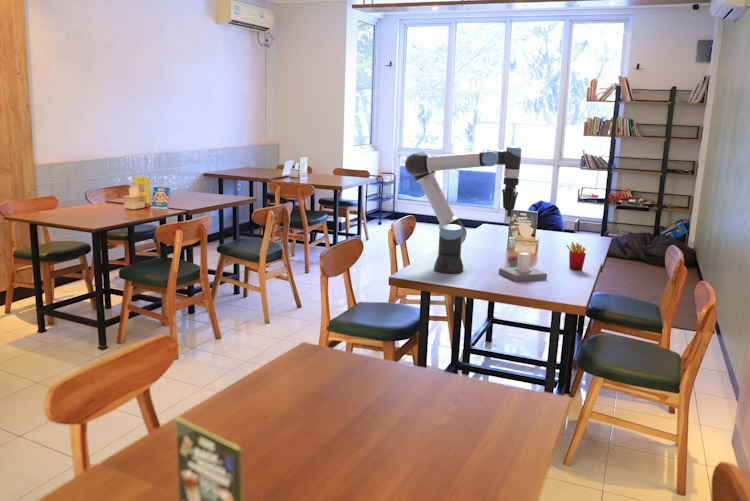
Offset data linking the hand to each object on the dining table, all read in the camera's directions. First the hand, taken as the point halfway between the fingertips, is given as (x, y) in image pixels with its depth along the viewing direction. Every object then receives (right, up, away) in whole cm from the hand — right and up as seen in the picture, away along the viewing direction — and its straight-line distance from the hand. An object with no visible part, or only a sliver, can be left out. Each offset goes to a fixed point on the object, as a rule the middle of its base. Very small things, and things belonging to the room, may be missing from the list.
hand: (507, 222), depth 334 cm
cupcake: (+6, -25, +10) cm, 27 cm away
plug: (+6, -28, -8) cm, 30 cm away
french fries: (+39, -25, +11) cm, 48 cm away
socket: (+6, -28, -8) cm, 30 cm away
